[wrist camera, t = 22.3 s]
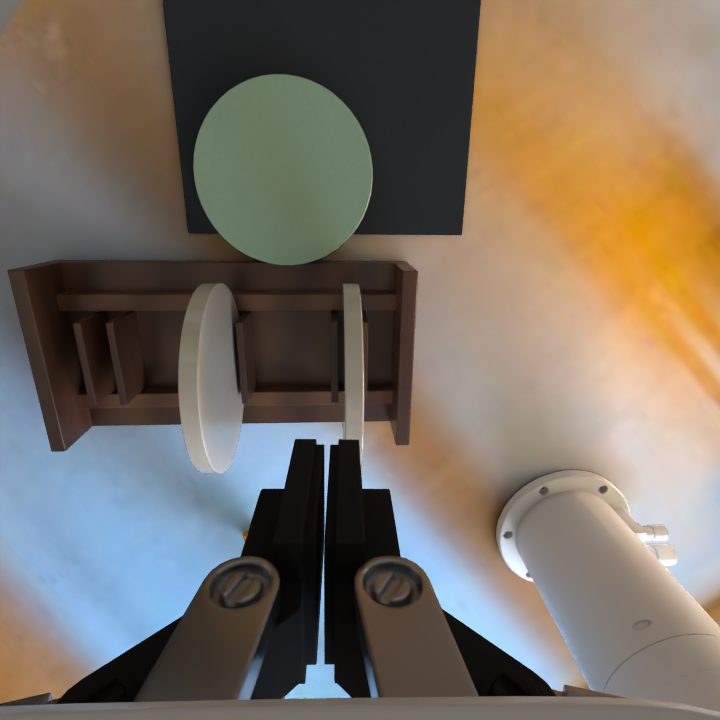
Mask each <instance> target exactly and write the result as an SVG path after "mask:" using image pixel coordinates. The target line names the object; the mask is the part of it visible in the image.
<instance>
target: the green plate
mask: <svg viewBox="0 0 720 720" xmlns="http://www.w3.org/2000/svg"><path fill="white" fill-rule="evenodd" d="M193 171H194V181H195V185H196V190H197V194H198V197H199V200H200V203H201V205H202V207H203V209H204V211H205V213H206V215H207V217H208V219H209V220H210V222H211V223H212V225H213V226H214V228H215V229H216V230H217V231H218V232H219V234H220V235H221V236H222V237H223V238H224V239H225V240H226V241H227V242H228V243H230V244H231V245H232V246H233V247H235V248H236V249H238V250H239V251H240V252H242V253H244V254H246V255H248V256H249V257H252V258H254V259H257V260H259V261H262V262H266V263H270V264H276V265H300V264H306V263H309V262H313V261H316V260H318V259H321V258H323V257H325V256H327V255H329V254H330V253H332V252H334V251H335V250H336V249H338V248H339V247H340V246H341V245H343V244H344V243H345V242H346V241H347V240H348V239H349V238H350V237H351V235H352V234H353V233H354V231H355V230H356V229H357V227H358V226H359V224H360V222H361V220H362V219H363V217H364V214H365V212H366V209H367V207H368V204H369V200H370V196H371V190H372V183H373V167H372V159H371V154H370V149H369V145H368V142H367V140H366V137H365V134H364V132H363V130H362V128H361V126H360V124H359V122H358V120H357V119H356V118H355V116H354V115H353V113H352V112H351V110H350V109H349V108H348V107H347V106H346V105H345V104H344V102H343V101H342V100H341V99H339V98H338V97H337V96H336V95H335V94H334V93H332V92H331V91H329V90H328V89H326V88H325V87H323V86H322V85H320V84H318V83H316V82H313V81H311V80H309V79H306V78H302V77H299V76H294V75H288V74H269V75H261V76H258V77H254V78H251V79H248V80H246V81H244V82H242V83H240V84H238V85H236V86H235V87H233V88H232V89H230V90H229V91H227V92H226V93H225V94H224V95H223V96H222V97H221V98H219V99H218V101H217V102H216V103H215V104H214V105H213V107H212V108H211V109H210V111H209V112H208V114H207V116H206V117H205V119H204V121H203V123H202V125H201V128H200V130H199V133H198V136H197V140H196V143H195V150H194V160H193Z"/></svg>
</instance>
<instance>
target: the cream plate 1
mask: <svg viewBox="0 0 720 720" xmlns="http://www.w3.org/2000/svg"><path fill="white" fill-rule="evenodd" d="M238 319H239V314H238V310H237V306H236V303H235V300H234V297H233V295H232V293H231V291H230V289H229V288H228V287H227V286H226V285H225V284H223V283H203V284H201V285H200V286H198V287H197V289H196V290H195V291H194V293H193V295H192V297H191V299H190V302H189V304H188V307H187V310H186V314H185V318H184V323H183V328H182V334H181V341H180V351H179V366H178V394H179V409H180V418H181V425H182V431H183V436H184V440H185V445H186V448H187V451H188V454H189V457H190V459H191V461H192V463H193V465H194V467H195V468H196V469H197V470H198V471H199V472H200V473H202V474H222V473H224V472H226V471H227V470H228V469H229V467H230V465H231V463H232V461H233V459H234V456H235V453H236V450H237V446H238V442H239V437H240V432H241V426H242V418H243V408H244V404H242V398H241V386H240V374H239V361H238V349H237V337H236V325H235V323H236V321H237V320H238Z"/></svg>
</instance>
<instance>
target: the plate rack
mask: <svg viewBox="0 0 720 720" xmlns="http://www.w3.org/2000/svg"><path fill="white" fill-rule="evenodd" d="M8 274H9V279H10V283H11V287H12V291H13V295H14V299H15V303H16V307H17V311H18V316H19V320H20V324H21V328H22V332H23V336H24V340H25V344H26V348H27V353H28V357H29V361H30V365H31V369H32V373H33V377H34V381H35V385H36V390H37V394H38V398H39V402H40V406H41V410H42V414H43V418H44V422H45V427H46V431H47V435H48V439H49V443H50V447H51V451H52V452H54V451H66V450H67V449H68V448H69V447H70V446H71V445H72V444H74V443H75V442H76V441H77V440H78V439H79V438H80V437H81V436H82V435H83V434H84V433H85V432H87V431H88V430H89V429H90V428H91V427H92V426H108V425H172V424H181V418H180V409H179V394H178V366H179V351H180V341H181V334H182V328H183V323H184V318H185V314H186V310H187V307H188V304H189V302H190V299H191V297H192V295H193V293H194V291H195V290H196V289H197V287H198V286H200V285H201V284H203V283H223V284H225V285H226V286H227V287H228V288H229V289H230V291H231V293H232V295H233V297H234V300H235V303H236V306H237V310H238V314H239V319H238V320H237V321H236V323H235V325H236V337H237V349H238V361H239V374H240V386H241V398H242V404H244V408H243V418H242V423H300V422H342V284H343V283H358V284H359V287H360V294H361V305H362V322H363V350H364V421H390V423H391V427H392V431H393V435H394V439H395V443H396V445H409V435H410V416H411V397H412V377H413V358H414V338H415V319H416V300H417V280H418V271H417V270H416V269H414V268H413V267H412V266H411V265H410V264H408V263H407V262H406V261H313V262H309V263H306V264H300V265H276V264H270V263H266V262H262V261H180V260H53V261H48V262H44V263H39V264H34V265H29V266H25V267H20V268H15V269H10V270H8Z"/></svg>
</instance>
